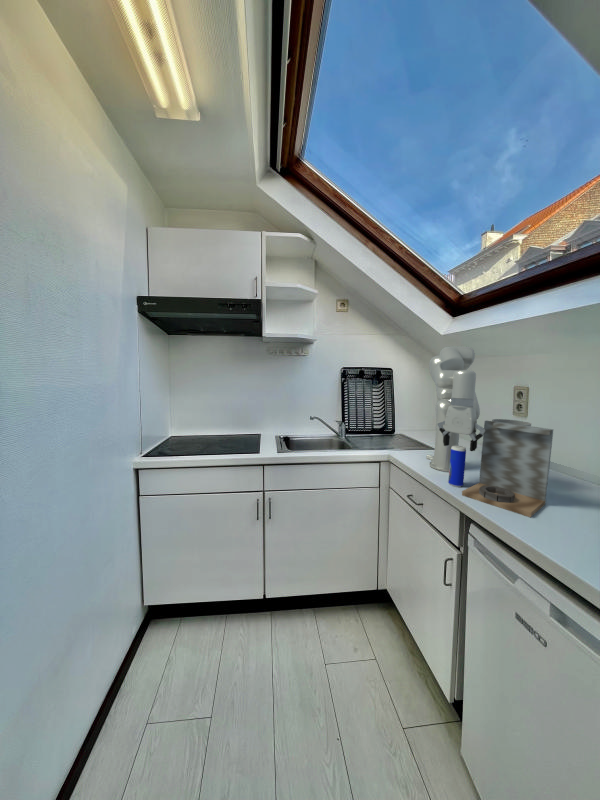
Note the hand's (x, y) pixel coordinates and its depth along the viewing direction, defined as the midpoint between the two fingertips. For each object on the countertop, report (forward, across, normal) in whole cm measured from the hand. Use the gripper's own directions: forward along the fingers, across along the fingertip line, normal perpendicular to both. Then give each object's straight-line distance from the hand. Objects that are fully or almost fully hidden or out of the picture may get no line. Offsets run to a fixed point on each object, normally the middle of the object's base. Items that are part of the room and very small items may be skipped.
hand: (459, 448), depth 115 cm
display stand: (+15, +15, 0) cm, 21 cm away
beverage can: (+15, -1, +1) cm, 15 cm away
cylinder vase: (+15, +10, +19) cm, 26 cm away
